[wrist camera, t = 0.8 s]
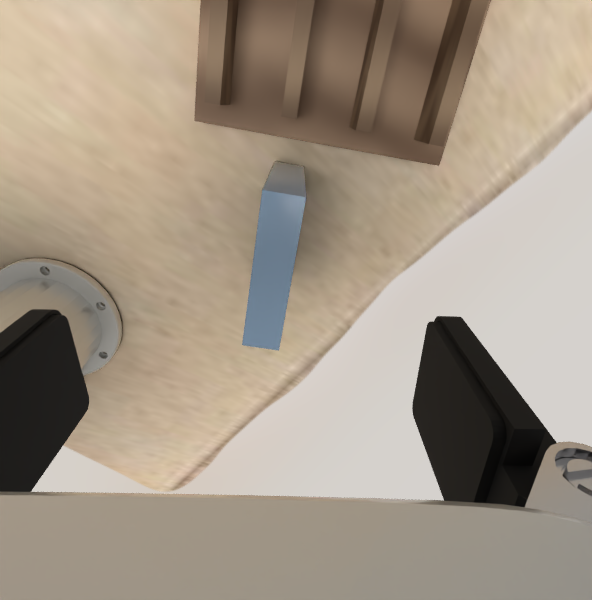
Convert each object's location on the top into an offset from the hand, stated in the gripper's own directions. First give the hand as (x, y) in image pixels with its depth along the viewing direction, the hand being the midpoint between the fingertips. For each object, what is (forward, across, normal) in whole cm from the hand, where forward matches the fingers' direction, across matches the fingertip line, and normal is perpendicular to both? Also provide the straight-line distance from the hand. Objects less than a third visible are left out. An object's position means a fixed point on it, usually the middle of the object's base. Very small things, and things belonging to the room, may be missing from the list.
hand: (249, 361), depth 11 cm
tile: (+25, 0, +3) cm, 25 cm away
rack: (+25, -4, -11) cm, 28 cm away
